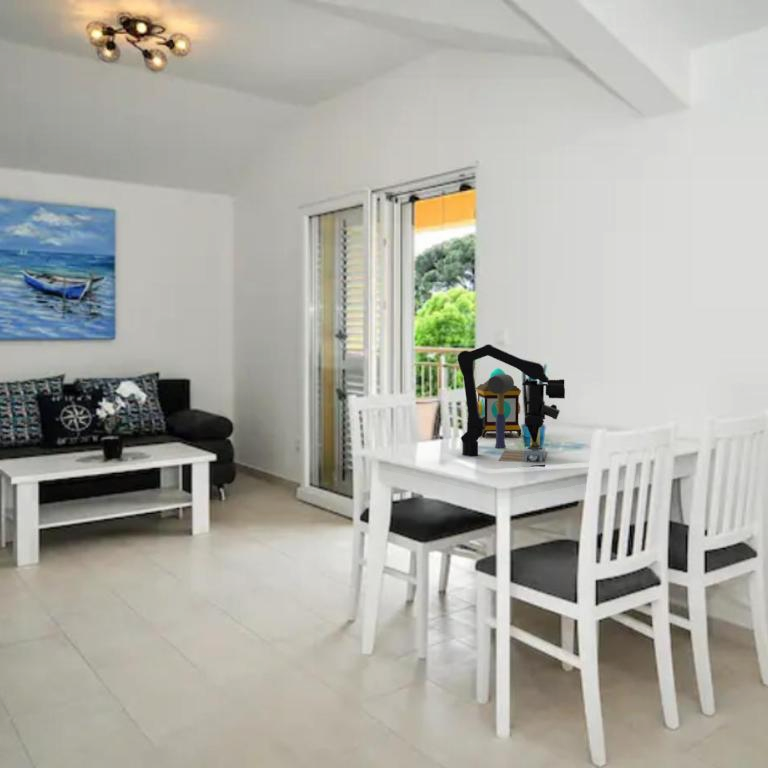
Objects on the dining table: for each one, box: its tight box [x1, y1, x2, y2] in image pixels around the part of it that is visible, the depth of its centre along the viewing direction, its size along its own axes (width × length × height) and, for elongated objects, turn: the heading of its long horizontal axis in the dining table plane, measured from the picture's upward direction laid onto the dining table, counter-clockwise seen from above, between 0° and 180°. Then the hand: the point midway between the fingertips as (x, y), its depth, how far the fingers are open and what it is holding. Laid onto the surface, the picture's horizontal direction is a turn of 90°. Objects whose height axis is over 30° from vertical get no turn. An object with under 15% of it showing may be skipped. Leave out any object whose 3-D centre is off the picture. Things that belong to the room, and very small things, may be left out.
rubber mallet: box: [487, 373, 515, 449], centre depth 298 cm, size 12×8×30 cm, turn 152°
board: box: [497, 449, 548, 467], centre depth 279 cm, size 24×16×2 cm, turn 166°
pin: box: [529, 427, 541, 447], centre depth 278 cm, size 5×5×9 cm
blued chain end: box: [523, 446, 546, 463], centre depth 274 cm, size 15×7×3 cm, turn 166°
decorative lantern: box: [476, 367, 522, 439], centre depth 345 cm, size 20×20×30 cm
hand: (534, 441), depth 278 cm, fingers closed on pin, 3 cm apart
